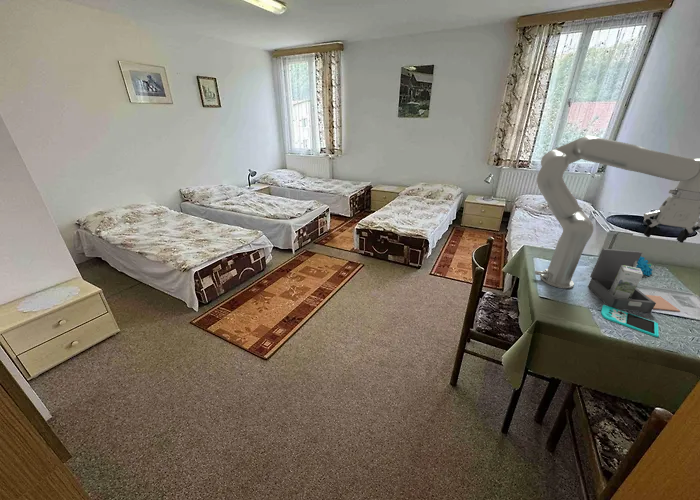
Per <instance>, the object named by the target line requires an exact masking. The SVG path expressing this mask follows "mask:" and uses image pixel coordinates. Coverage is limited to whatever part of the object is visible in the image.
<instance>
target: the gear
mask: <svg viewBox="0 0 700 500" xmlns="http://www.w3.org/2000/svg"><path fill="white" fill-rule="evenodd" d="M645 259H646V258H645V257H644V256H642V255H641V256H640V258H639V260H638V262H637V264H636V268H640V269H641V271H642V273H643V276H647V277H650V276H651V275H653V273H652V272H653V268H652V266H653V264H652V263H649V260H647V259H646V260H645Z"/></svg>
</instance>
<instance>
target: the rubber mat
mask: <svg viewBox="0 0 700 500" xmlns="http://www.w3.org/2000/svg"><path fill="white" fill-rule="evenodd" d="M645 295H646V296H647V297H649V298H650V299H651V300H653V301H654V302H655V303H656V304H655V306H654V308H653V309H652V310H659V309H661V311H668V310H669V311H670V312H678V311H679V312H681V310H680V309H678V308H677V307H676V306H674V305H673V304H672V303H670V302H669V301H667V300H666V299H665V298H663V297H661V296H660V295H652V294H651V295H650V294H645ZM679 312H678V313H679Z"/></svg>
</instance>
